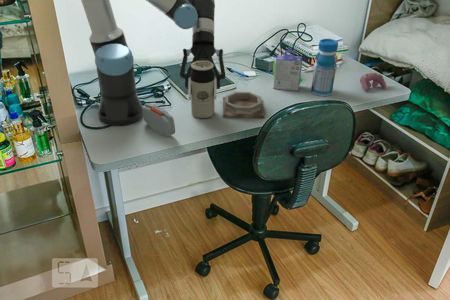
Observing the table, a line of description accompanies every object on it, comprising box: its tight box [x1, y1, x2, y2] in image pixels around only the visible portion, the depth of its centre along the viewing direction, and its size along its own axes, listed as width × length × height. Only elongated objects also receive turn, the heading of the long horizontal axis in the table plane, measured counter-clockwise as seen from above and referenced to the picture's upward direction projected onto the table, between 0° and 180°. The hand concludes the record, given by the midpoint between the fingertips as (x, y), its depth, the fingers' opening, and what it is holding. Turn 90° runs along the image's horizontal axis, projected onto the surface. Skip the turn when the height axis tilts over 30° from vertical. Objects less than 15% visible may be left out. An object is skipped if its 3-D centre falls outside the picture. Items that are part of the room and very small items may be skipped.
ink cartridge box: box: [273, 49, 303, 92], centre depth 170 cm, size 10×6×14 cm, turn 78°
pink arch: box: [359, 72, 387, 93], centre depth 173 cm, size 10×5×7 cm, turn 109°
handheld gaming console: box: [142, 103, 176, 137], centre depth 142 cm, size 14×3×8 cm, turn 45°
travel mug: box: [190, 61, 215, 119], centre depth 150 cm, size 8×8×18 cm
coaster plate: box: [222, 91, 265, 119], centre depth 158 cm, size 14×14×4 cm
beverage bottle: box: [310, 38, 339, 97], centre depth 165 cm, size 8×8×20 cm
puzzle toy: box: [272, 58, 276, 77], centre depth 182 cm, size 6×6×6 cm
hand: (202, 97), depth 148 cm, fingers closed on travel mug, 8 cm apart
